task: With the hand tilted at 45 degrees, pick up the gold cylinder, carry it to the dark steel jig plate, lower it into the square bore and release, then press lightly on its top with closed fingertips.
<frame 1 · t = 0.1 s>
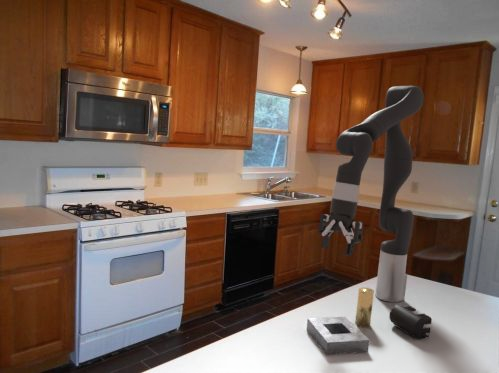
hand: (335, 252, 121), 22 cm above the kitchen island, tool pointing down, fingers open, 8 cm apart
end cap: (408, 332, 122), on the kitchen island
jig: (335, 340, 114), on the kitchen island
gold cylinder: (362, 324, 125), on the kitchen island
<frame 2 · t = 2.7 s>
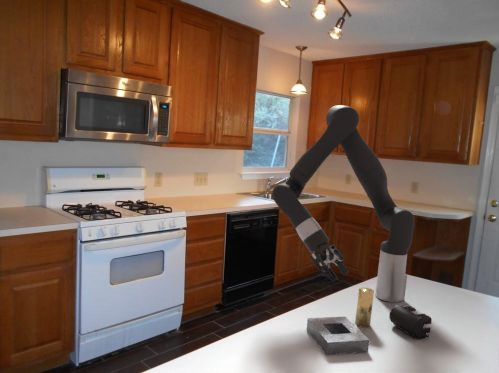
hand: (341, 277, 128), 13 cm above the kitchen island, tool tilted 45°, fingers open, 8 cm apart
nothing on the kitchen island moved.
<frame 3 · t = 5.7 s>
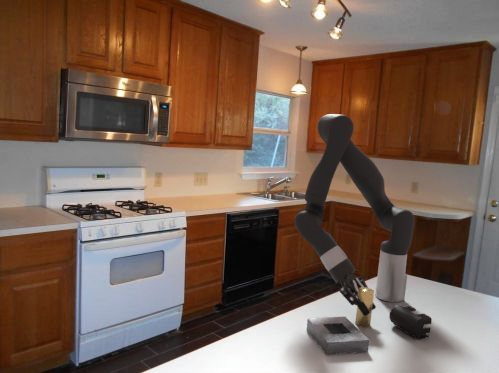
hand: (370, 311, 123), 5 cm above the kitchen island, tool tilted 45°, fingers closed on gold cylinder, 4 cm apart
gold cylinder: (362, 324, 125), on the kitchen island, touching gripper
everything else where it was.
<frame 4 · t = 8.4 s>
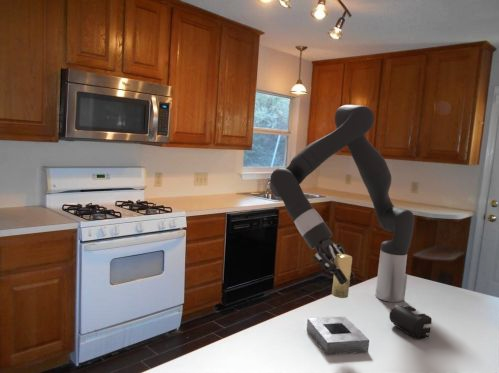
hand: (348, 280, 110), 18 cm above the kitchen island, tool tilted 45°, fingers closed on gold cylinder, 4 cm apart
gold cylinder: (339, 294, 112), point 13 cm above the kitchen island, touching gripper
everything else where it was.
when the fingers open (7 cm above the kitchen island, at t = 11.3 s): gold cylinder drops 2 cm, resting in jig.
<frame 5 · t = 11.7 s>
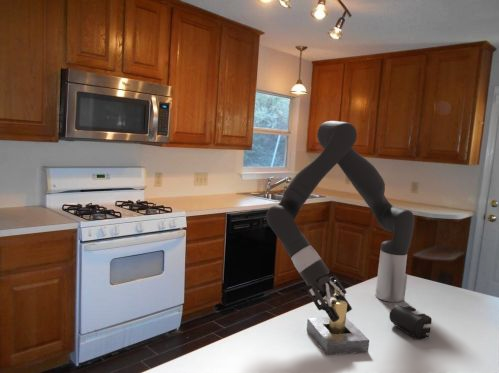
hand: (343, 315, 112), 8 cm above the kitchen island, tool tilted 45°, fingers open, 8 cm apart
gold cylinder: (335, 340, 114), resting in jig
everything else where it was.
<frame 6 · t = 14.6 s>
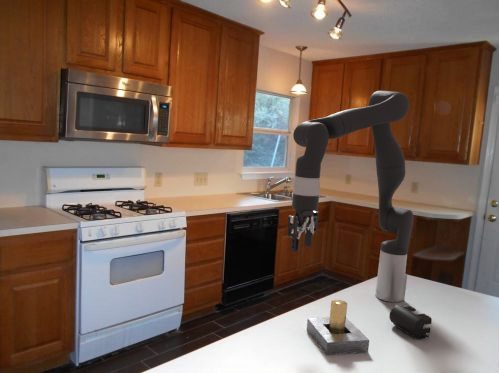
hand: (301, 248, 119), 23 cm above the kitchen island, tool pointing down, fingers open, 7 cm apart
nothing on the kitchen island moved.
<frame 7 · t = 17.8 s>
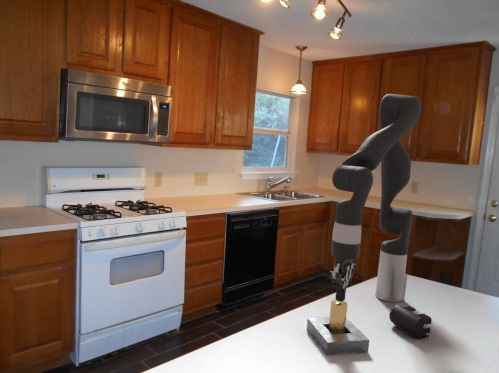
hand: (340, 300, 112), 12 cm above the kitchen island, tool pointing down, fingers closed
nothing on the kitchen island moved.
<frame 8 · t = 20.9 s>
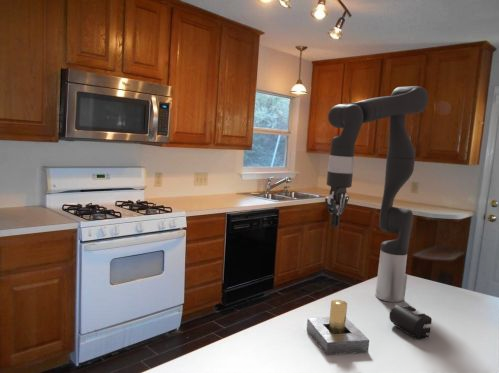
hand: (334, 226, 126), 29 cm above the kitchen island, tool pointing down, fingers closed
nothing on the kitchen island moved.
at the end: gold cylinder 0.1 cm off-centre on the jig, point 0.0 cm above the jig's base; gold cylinder tilted 0°; the gripper is holding nothing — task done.
